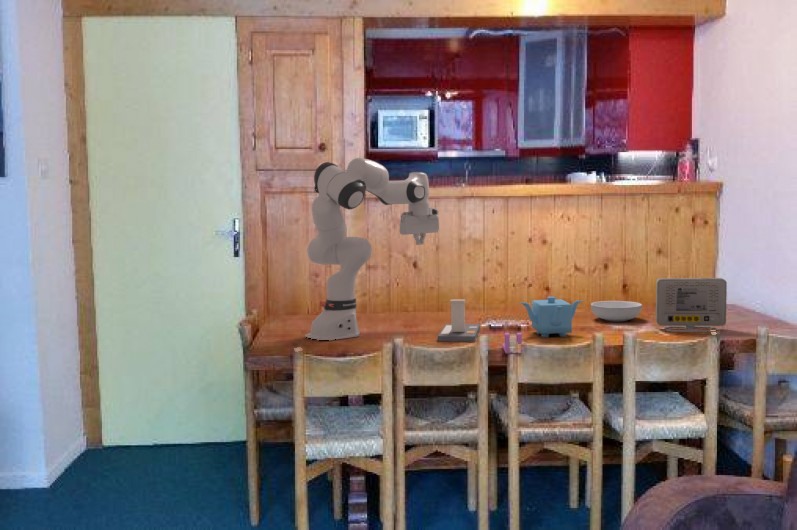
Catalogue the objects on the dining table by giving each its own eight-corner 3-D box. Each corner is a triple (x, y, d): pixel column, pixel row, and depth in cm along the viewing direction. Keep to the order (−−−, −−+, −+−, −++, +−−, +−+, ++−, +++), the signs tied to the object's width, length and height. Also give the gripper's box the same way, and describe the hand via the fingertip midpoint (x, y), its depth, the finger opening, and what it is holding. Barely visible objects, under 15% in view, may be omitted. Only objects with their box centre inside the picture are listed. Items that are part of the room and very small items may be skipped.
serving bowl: (652, 319, 346) (652, 303, 345) (621, 326, 333) (621, 309, 332) (611, 314, 362) (611, 298, 361) (580, 320, 349) (580, 304, 348)
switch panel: (445, 328, 337) (445, 323, 336) (480, 328, 334) (480, 323, 334) (437, 341, 311) (437, 335, 311) (474, 341, 309) (474, 336, 308)
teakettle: (543, 328, 331) (542, 292, 330) (585, 333, 319) (585, 295, 318) (517, 336, 317) (517, 298, 316) (561, 341, 305) (560, 302, 303)
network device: (722, 327, 323) (723, 277, 321) (727, 332, 315) (728, 280, 313) (654, 327, 328) (655, 277, 326) (657, 331, 319) (658, 280, 317)
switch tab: (451, 330, 320) (450, 299, 318) (466, 330, 319) (465, 299, 317) (450, 332, 317) (450, 300, 315) (465, 332, 316) (464, 300, 314)
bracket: (521, 353, 287) (521, 333, 286) (505, 353, 287) (505, 334, 286) (517, 346, 300) (517, 327, 299) (501, 346, 300) (501, 327, 299)
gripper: (406, 212, 333) (407, 246, 334) (441, 210, 347) (441, 243, 348) (395, 212, 338) (396, 245, 339) (430, 210, 352) (431, 242, 353)
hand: (419, 244), depth 344 cm, fingers closed
